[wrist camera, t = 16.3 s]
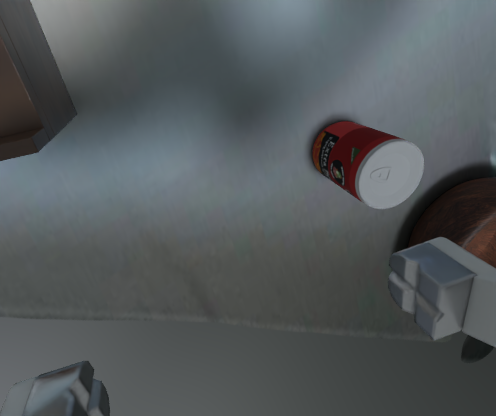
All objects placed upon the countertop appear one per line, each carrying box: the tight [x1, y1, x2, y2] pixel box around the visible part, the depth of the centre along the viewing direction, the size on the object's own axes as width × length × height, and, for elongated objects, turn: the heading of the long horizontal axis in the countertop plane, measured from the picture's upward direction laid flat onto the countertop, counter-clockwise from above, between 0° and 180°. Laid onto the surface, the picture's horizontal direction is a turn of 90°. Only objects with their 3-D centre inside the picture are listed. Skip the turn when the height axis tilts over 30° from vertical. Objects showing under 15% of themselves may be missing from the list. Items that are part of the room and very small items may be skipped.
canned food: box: [312, 121, 424, 209], centre depth 38 cm, size 8×8×11 cm
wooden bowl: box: [408, 177, 496, 268], centre depth 52 cm, size 25×25×10 cm
